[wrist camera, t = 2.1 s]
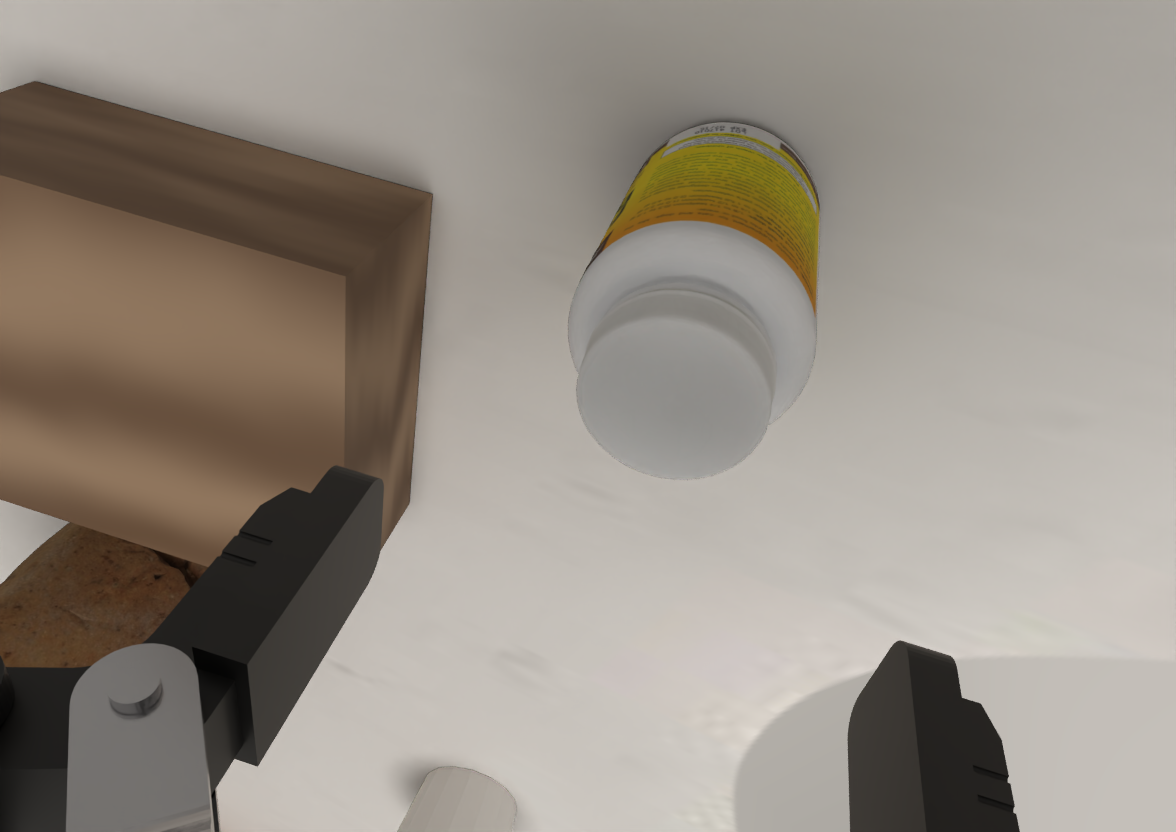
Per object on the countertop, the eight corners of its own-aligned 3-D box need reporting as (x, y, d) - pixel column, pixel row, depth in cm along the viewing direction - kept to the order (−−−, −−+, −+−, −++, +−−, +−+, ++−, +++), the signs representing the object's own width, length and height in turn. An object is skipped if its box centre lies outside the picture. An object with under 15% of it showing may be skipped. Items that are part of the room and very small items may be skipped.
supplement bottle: (631, 111, 23) (527, 265, 15) (834, 119, 22) (835, 290, 14) (630, 289, 27) (544, 493, 19) (807, 304, 26) (796, 527, 18)
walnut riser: (34, 81, 27) (-132, 136, 23) (432, 194, 26) (345, 276, 22) (106, 408, 36) (-4, 498, 31) (409, 503, 35) (343, 610, 30)
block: (73, 530, 42) (-382, 960, 26) (125, 461, 38) (-381, 922, 22) (249, 653, 45) (-67, 1108, 29) (315, 601, 41) (-12, 1099, 25)
